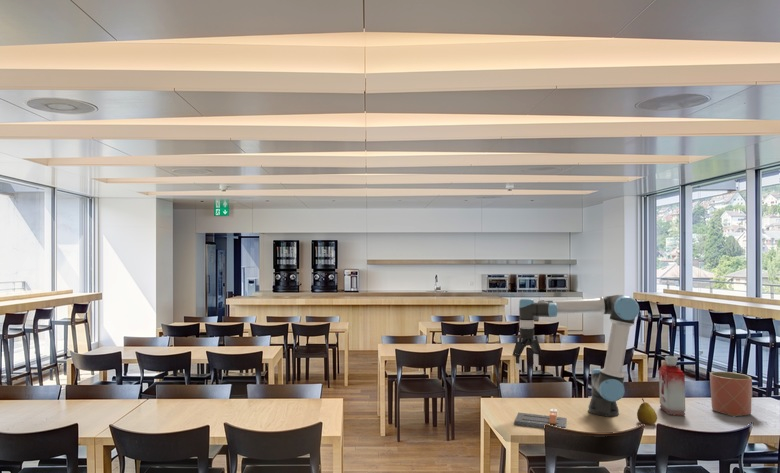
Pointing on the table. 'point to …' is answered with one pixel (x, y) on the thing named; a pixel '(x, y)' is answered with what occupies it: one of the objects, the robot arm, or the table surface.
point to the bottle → (672, 387)
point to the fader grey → (554, 412)
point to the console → (538, 420)
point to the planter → (731, 393)
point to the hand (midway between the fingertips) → (527, 368)
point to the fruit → (646, 414)
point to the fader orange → (552, 418)
